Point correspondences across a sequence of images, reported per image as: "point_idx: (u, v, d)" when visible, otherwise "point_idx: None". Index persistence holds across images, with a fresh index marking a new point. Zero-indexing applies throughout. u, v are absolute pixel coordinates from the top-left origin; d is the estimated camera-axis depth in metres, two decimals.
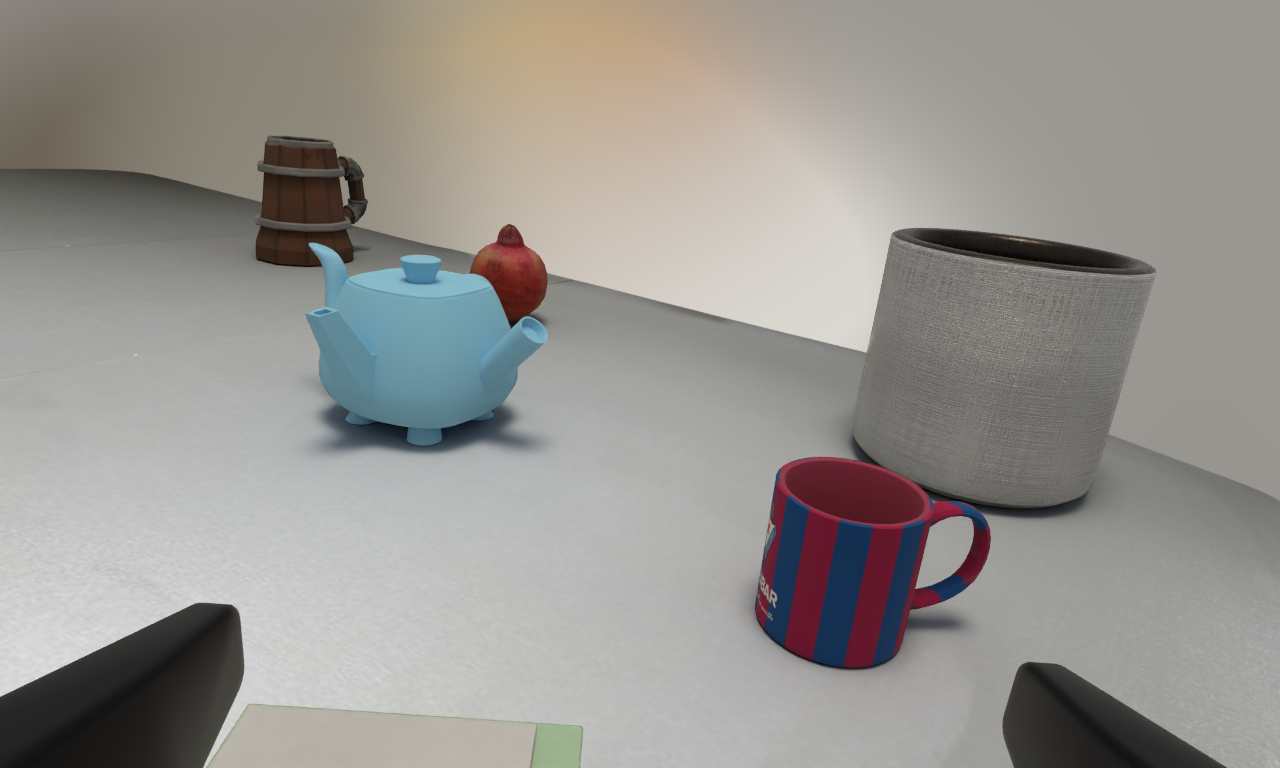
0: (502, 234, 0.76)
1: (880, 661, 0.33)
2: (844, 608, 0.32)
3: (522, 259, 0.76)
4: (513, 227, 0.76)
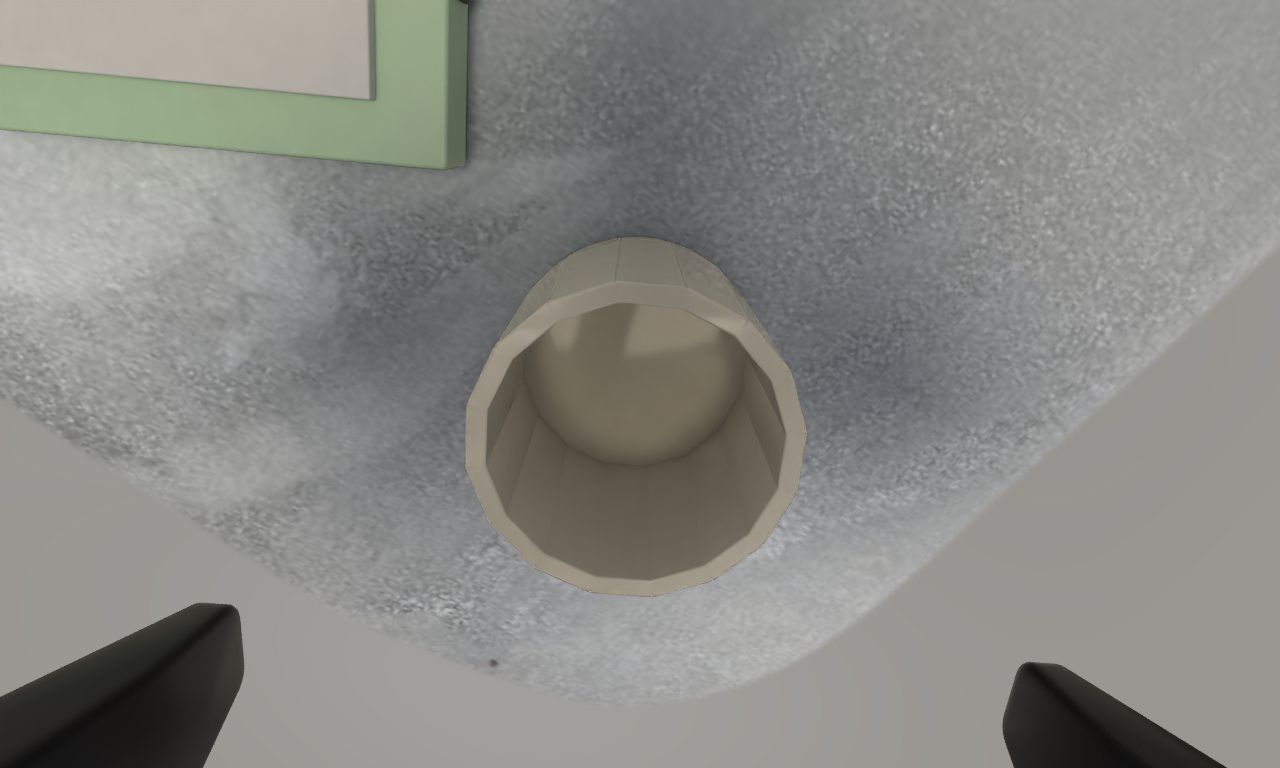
0: None
1: None
2: None
3: None
4: None
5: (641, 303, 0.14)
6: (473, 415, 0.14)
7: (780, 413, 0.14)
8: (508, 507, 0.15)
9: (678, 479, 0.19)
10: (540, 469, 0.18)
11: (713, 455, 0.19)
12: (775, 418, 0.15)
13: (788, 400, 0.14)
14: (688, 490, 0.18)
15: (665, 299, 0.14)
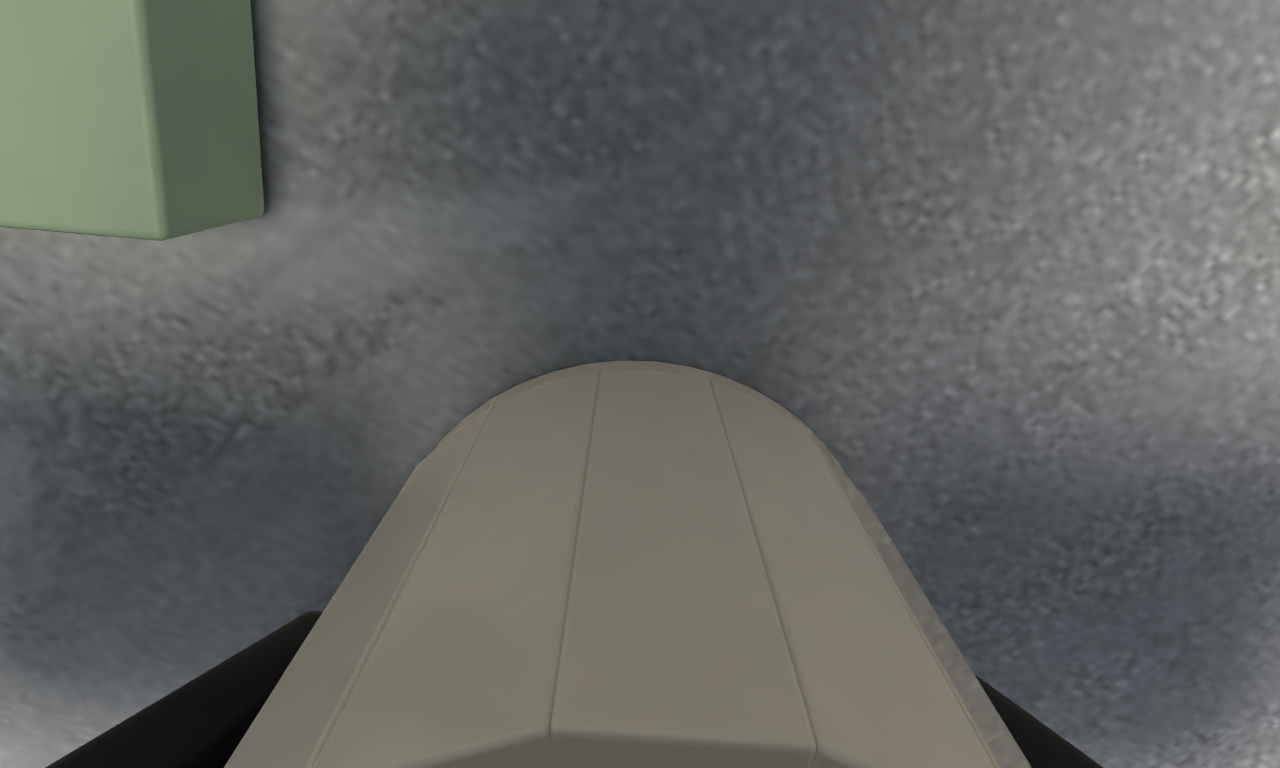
0: None
1: None
2: None
3: None
4: None
5: None
6: None
7: None
8: None
9: None
10: None
11: None
12: None
13: None
14: None
15: None
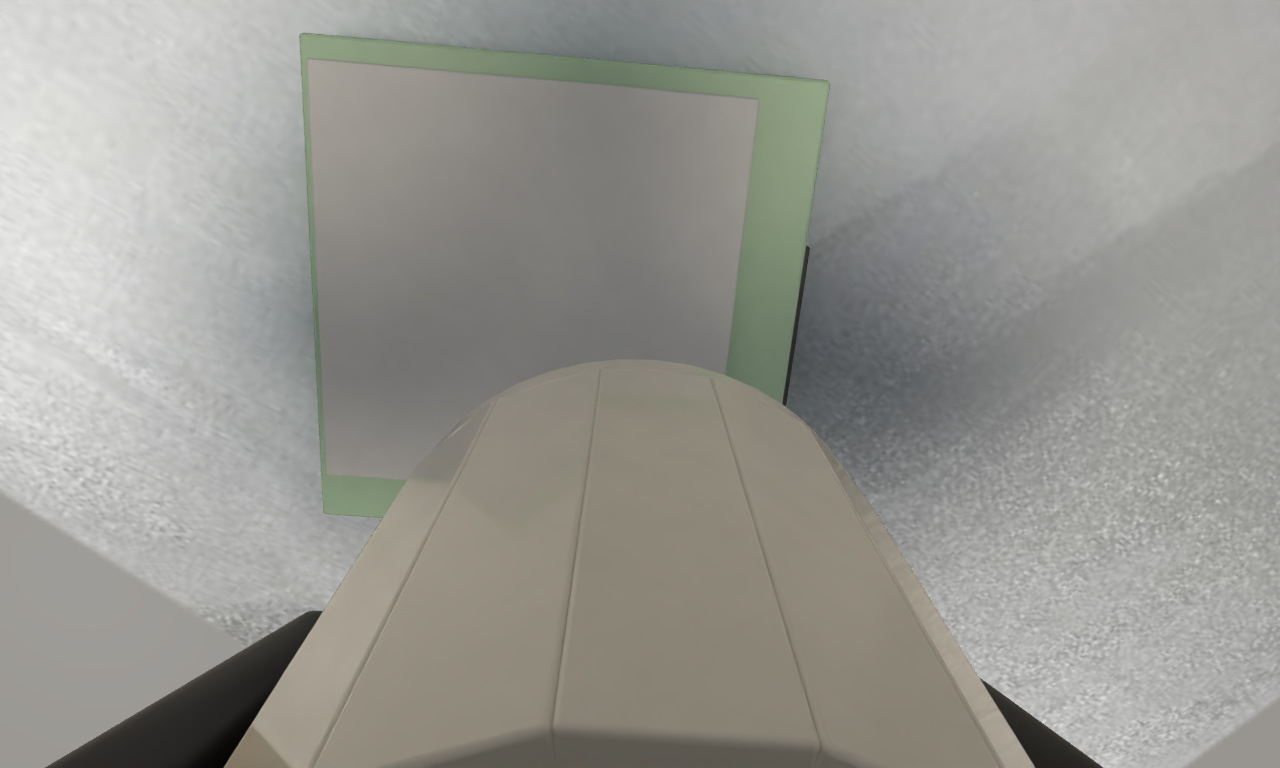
0: None
1: None
2: None
3: None
4: None
5: None
6: None
7: None
8: None
9: None
10: None
11: None
12: None
13: None
14: None
15: None
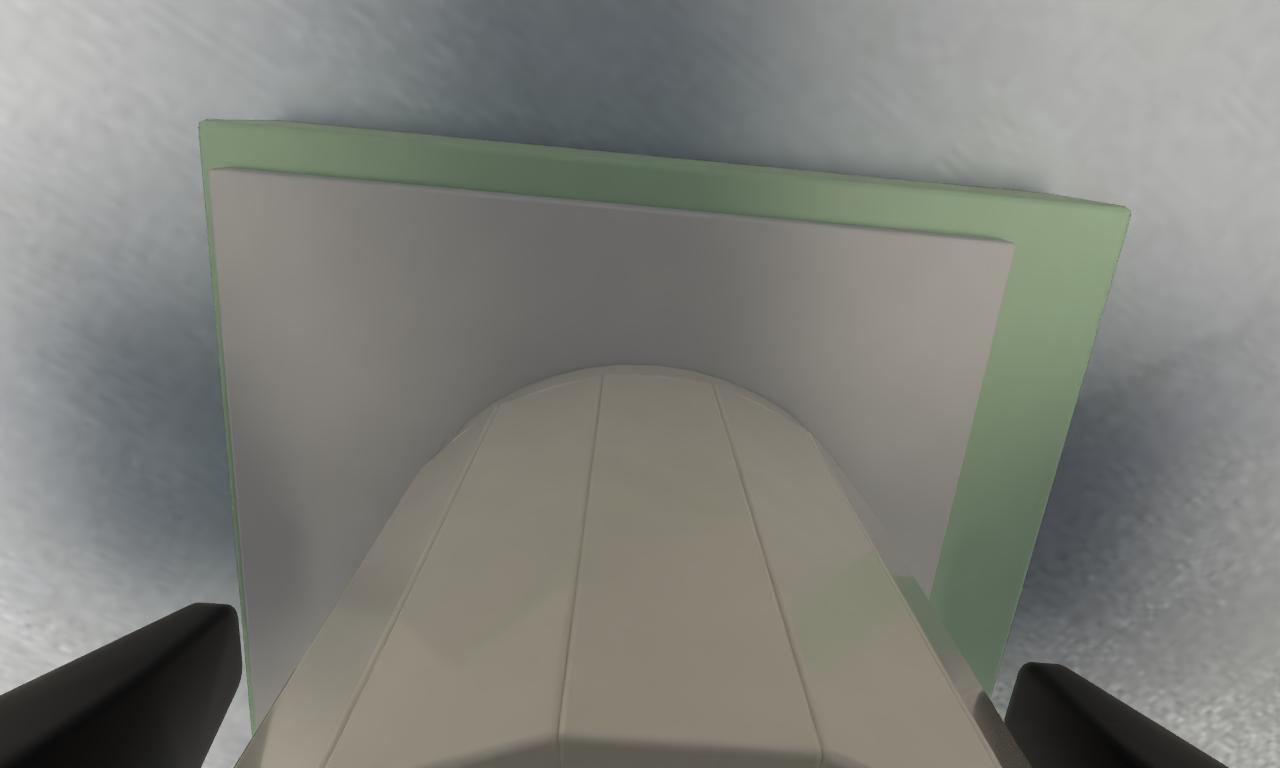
0: None
1: None
2: None
3: None
4: None
5: None
6: None
7: None
8: None
9: None
10: None
11: None
12: None
13: None
14: None
15: None
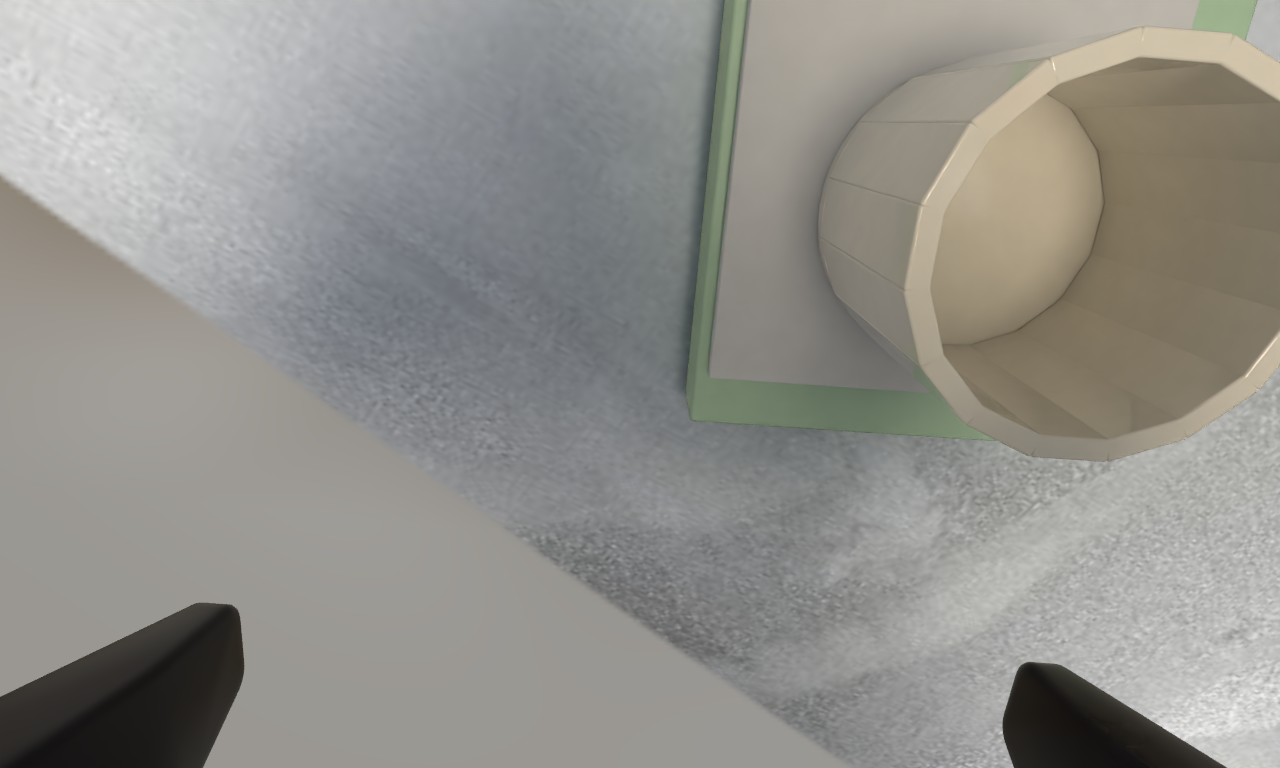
0: None
1: None
2: None
3: None
4: None
5: (1164, 60, 0.11)
6: (928, 218, 0.11)
7: None
8: None
9: (1033, 351, 0.16)
10: None
11: (1075, 322, 0.16)
12: (1260, 235, 0.12)
13: None
14: (1063, 357, 0.15)
15: (1204, 50, 0.10)
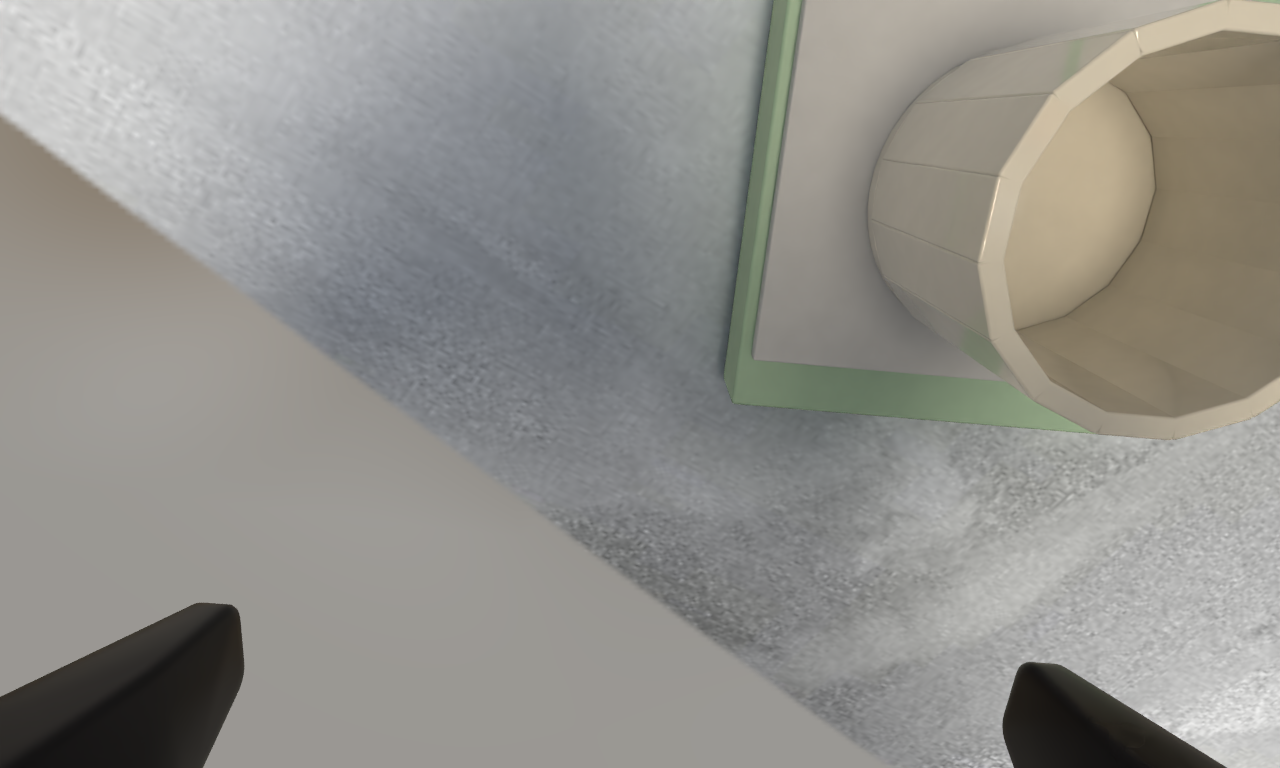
0: None
1: None
2: None
3: None
4: None
5: (1248, 34, 0.11)
6: (1005, 189, 0.11)
7: None
8: None
9: (1084, 335, 0.16)
10: None
11: (1126, 306, 0.16)
12: None
13: None
14: (1116, 341, 0.15)
15: None
